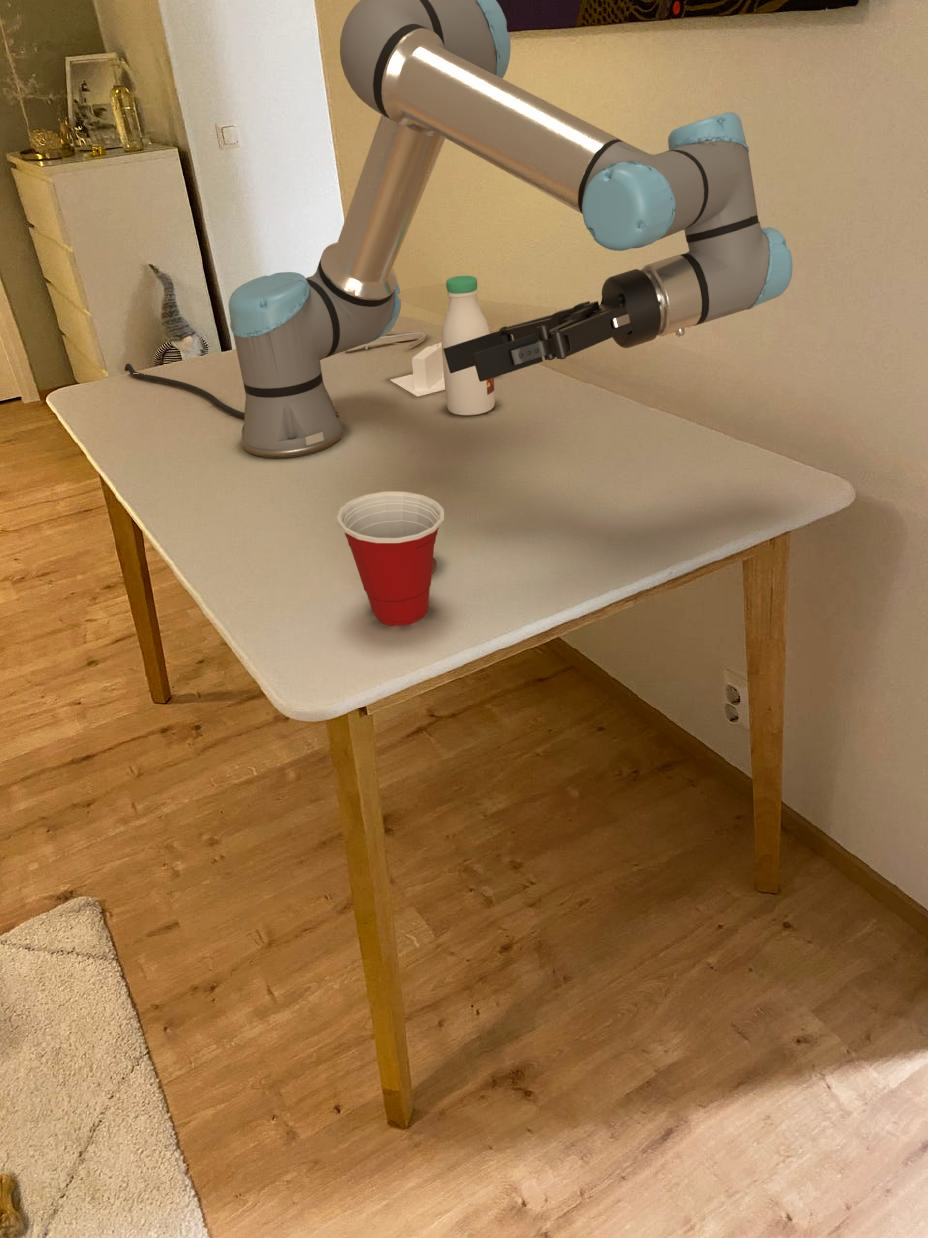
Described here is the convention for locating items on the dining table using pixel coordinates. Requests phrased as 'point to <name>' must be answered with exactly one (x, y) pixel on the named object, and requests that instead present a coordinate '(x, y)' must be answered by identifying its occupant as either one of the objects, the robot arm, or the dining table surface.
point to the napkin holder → (425, 372)
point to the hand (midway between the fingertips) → (460, 364)
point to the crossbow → (397, 338)
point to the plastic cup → (393, 551)
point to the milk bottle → (457, 328)
